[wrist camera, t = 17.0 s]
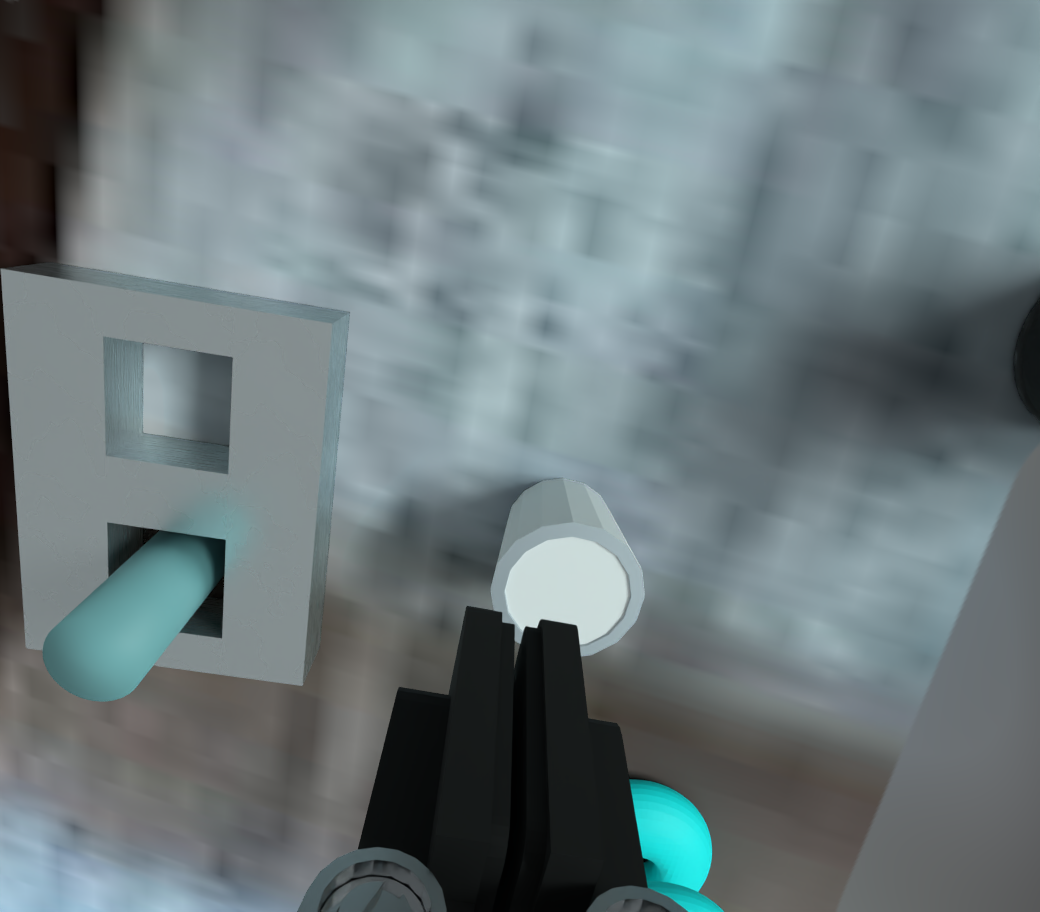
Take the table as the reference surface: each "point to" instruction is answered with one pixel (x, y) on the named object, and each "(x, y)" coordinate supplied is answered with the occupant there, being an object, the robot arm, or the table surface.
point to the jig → (175, 456)
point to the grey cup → (567, 565)
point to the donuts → (673, 844)
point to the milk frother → (1029, 362)
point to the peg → (133, 616)
